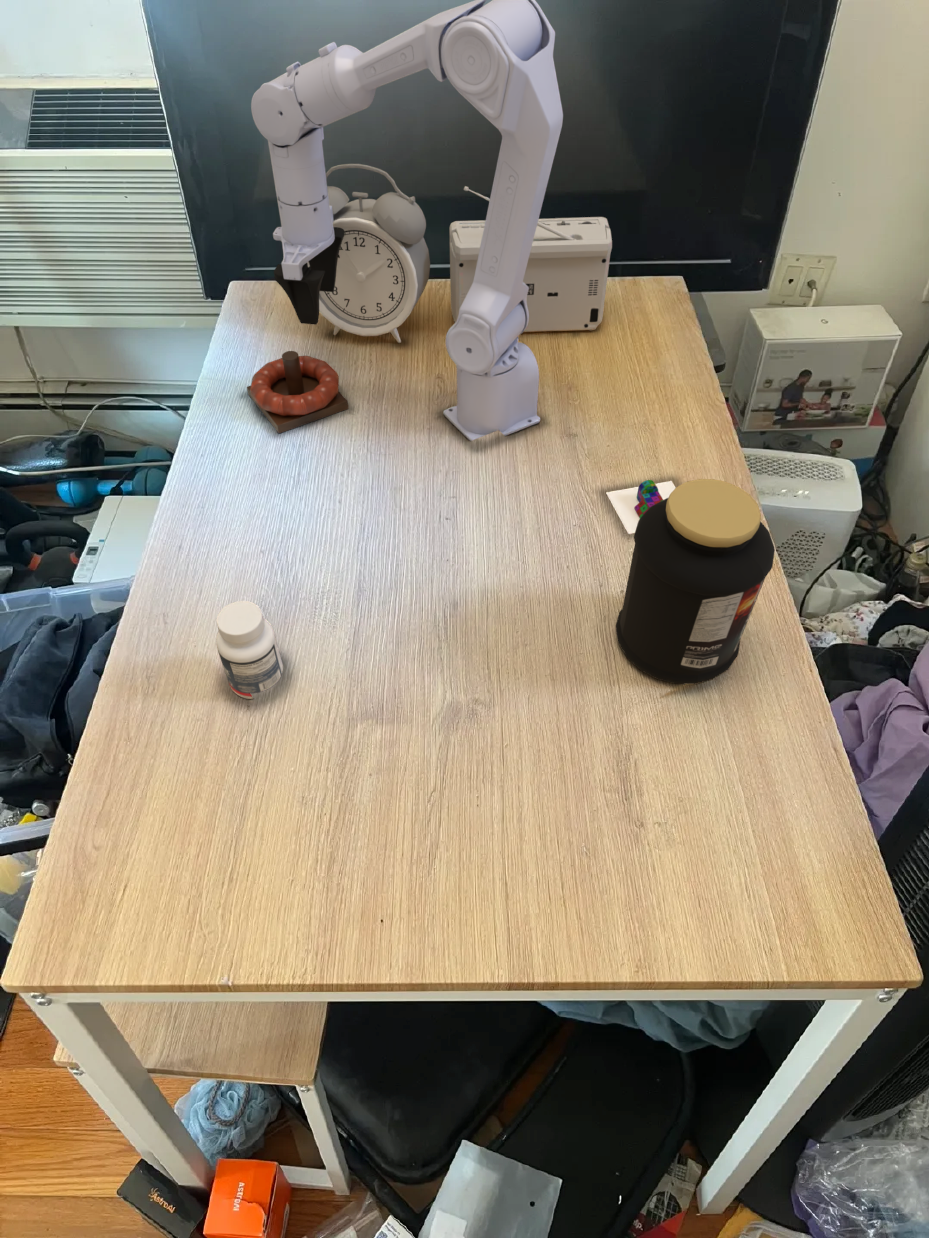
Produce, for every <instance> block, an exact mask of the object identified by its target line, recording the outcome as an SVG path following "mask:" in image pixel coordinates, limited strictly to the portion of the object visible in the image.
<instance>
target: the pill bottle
mask: <svg viewBox="0 0 929 1238" xmlns="http://www.w3.org/2000/svg"><path fill="white" fill-rule="evenodd" d="M216 626H217V630H218V631H217V633H216V637H215V639H216V640H215V644H216V649H217V653H218V655H219V659H220V662H221V665H222V668H223V671H224V674H225V677H226V680H227V683H228V686H229V687H230V689H231V691H232V692H233V693H234V694H236V695H237V696H239V697H241V698H243V699H247V700H254V697H253V695H252V694H259V693H262V692H265V691H267V690H269V689H271V688H273V687H274V686H275V685H276V684H277V683H279V681H280V680H281V677H282V675H283V670H284V663H283V659H282V656H281V652H280V649H279V645H278V641H277V637H276V633H275V630H274V627H273V625H272V624H271V623H270V621H268V619H266V618H265V617H264V613H263V611H262V609H261V607H260V606H259V605H257V604H256V603H254V602H252V601H250V600H249V601H248V600H237V601H234V602H231V603H229V604H227V605H225V606H223V608H221V609H220V611H219V613H217V617H216Z"/></svg>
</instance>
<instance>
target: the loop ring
mask: <svg viewBox="0 0 929 1238" xmlns="http://www.w3.org/2000/svg"><path fill="white" fill-rule="evenodd" d="M299 361H300V367H301V374H302V375H306V376H309V377H312V378H316V379H317V380H318V381H319V385H318V386H317V387H316V388H315V389H314V390H312V391H309V392H306V393H303V394H301V395H282V394H278V393H275V392H273V391H272V390H271V386H272V385H273V384H274V383H275V382H276V381H278V380H280V379H283V378H286V377H285V372H284V366H283V360H282V357H280V358H277V359H275V360H272V361H269V362H266V363H265V364H264V365H263V366H262V367H260V368H259V369H258V370H257V371H256V372H255V373H254V374H253V375H252V378H251V384H250V386H251V389H250V393H251V396H252V398H253V399H254V400H255V401H256V402H257V403H258V405H259V406H260V407H261V408H262V409H264V410H266V411H269V412H272V413H275V414H279V415H282V416H291V415H306V414H309V413H311V412H314V411H316V410H319V409H322V408H324V407H325V406H326V405H327V404H328V403H329V402H330V401H331V400H332V399H333V398H334V397H335V396H336V395H337V393H338V391H339V384H340V377H339V374H338V372H337V371H336V370H335V369H334V368H333V367H332V365H330V364H329V363H328V362H327V361H326V360H323V359H319V358H316V357H312V356H309V355H299Z"/></svg>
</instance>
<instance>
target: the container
mask: <svg viewBox="0 0 929 1238" xmlns="http://www.w3.org/2000/svg"><path fill="white" fill-rule="evenodd" d="M675 487H676V488H675V489H674V490H673V492H672V493H671V494H670V495H669V498H666V499H664V500H662V501H661V502H659V503H657V504H655V505H653V506H651V507H650V508H649V509H648V510H647V511H646V512H645V514H644V515H643V516H642V517H641V518H640V519H639V521H638V524H637V527H636V531H635V533H633V540H634V547H633V552H632V557H631V562H630V567H629V572H628V578H627V583H626V588H625V594H624V598H623V604H622V609H620V611H619V613H618V616H617V618H616V624H615V632H616V638H617V643H618V645H619V647H620V649H621V650H622V652H623V653H624V655H625V657H626V659H627V660H628V661H629V662H631V664H632V665H634V666H635V667H636V668H637V669H638V670H639V671H641V672H642V673H644V674H647V675H648V676H651V677H652V678H654V679H656V680H657V681H658V680H659V681H663V682H667V683H670V684H675V685H697V684H701V683H705V682H709V681H713V680H714V679H716V678H718V677H719V676H721V675H723V674H724V673H725V672H727V671H728V670H730V668H731V666H732V665H733V664H734V662H735V661H736V659H737V658H738V656H739V651H740V646H741V640H742V637H743V634H744V632H745V630H746V627H747V624H748V623H749V619H750V617H751V614H752V612H753V609H754V607H755V604H756V602H757V600H758V597H759V595H760V592H761V589H762V587H763V585H764V582H765V580H766V577H768V575H769V574H770V572H771V571H772V569H773V566H774V557H775V544H774V542H773V539H772V536H771V533H770V531H769V530H768V528H767V527H766V526H765V525H764V523H763V522H762V513H761V510H760V508H759V505H758V502H757V501H756V500H755V499H754V497H752V495H751V494H750V493H748V492H747V491H745V490H744V489H742V488H741V487H740V486H737V485H735V484H732V483H730V482H728V481H725V480H721V479H714V478H697V479H693V480H688V481H685V482H683V483H681V484H679V485H678V486H675Z"/></svg>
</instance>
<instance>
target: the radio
mask: <svg viewBox="0 0 929 1238" xmlns="http://www.w3.org/2000/svg"><path fill="white" fill-rule="evenodd" d="M463 191H465V192H468V191H469V192H470V193H473V194H475V195H476V196H478V197H480V198H482V199H484V200H486V201H487V202H489V201H490V197H487V196H485V195H482V194H481V193H479V192H475V191H474V190H472V189H469V186H466V185H464V187H463ZM485 221H486V219H484V220H455V221H453V222H451V223H450V225H449V274H450V275H449V279H450V281H449V282H450V289H449V290H450V311H451V315H452V319H453V322H454V323H455V322H456V321H457V319H458V315H459V310H460V307H461V305H462V303H463V301H464V299H465V297H466V295H467V293H468V291H469V290H470V288H471V286H472V283H473V280H474V275H475V270H476V265H477V260H478V255H479V251H480V246H481V241H482V236H483V231H484V226H485ZM612 239H613V238H612V231H611V228H610V225H609V221H608V218H606V217H604V216H590V217H589V216H588V217H585V216H584V217H555V218H539V219H538V223H537V227H536V231H535V235H534V239H533V243H532V247H531V251H530V255H529V259H528V263H527V267H526V271H525V275H524V279H523V282H524V283H525V284H526V285H527V286H528V287H529V290H528V294H527V307H528V311H529V322H528V325H527V327H526V329H525V330H524V332H523V333H529V332H530V333H531V332H533V333H534V332H563V331H566V332H567V331H589V332H591V331H595V330H596V329H597V327H599V325H601V323H602V322H603V317H604V308H605V300H606V293H607V285H608V276H609V267H610V260H611V252H612V249H613V240H612Z"/></svg>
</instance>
